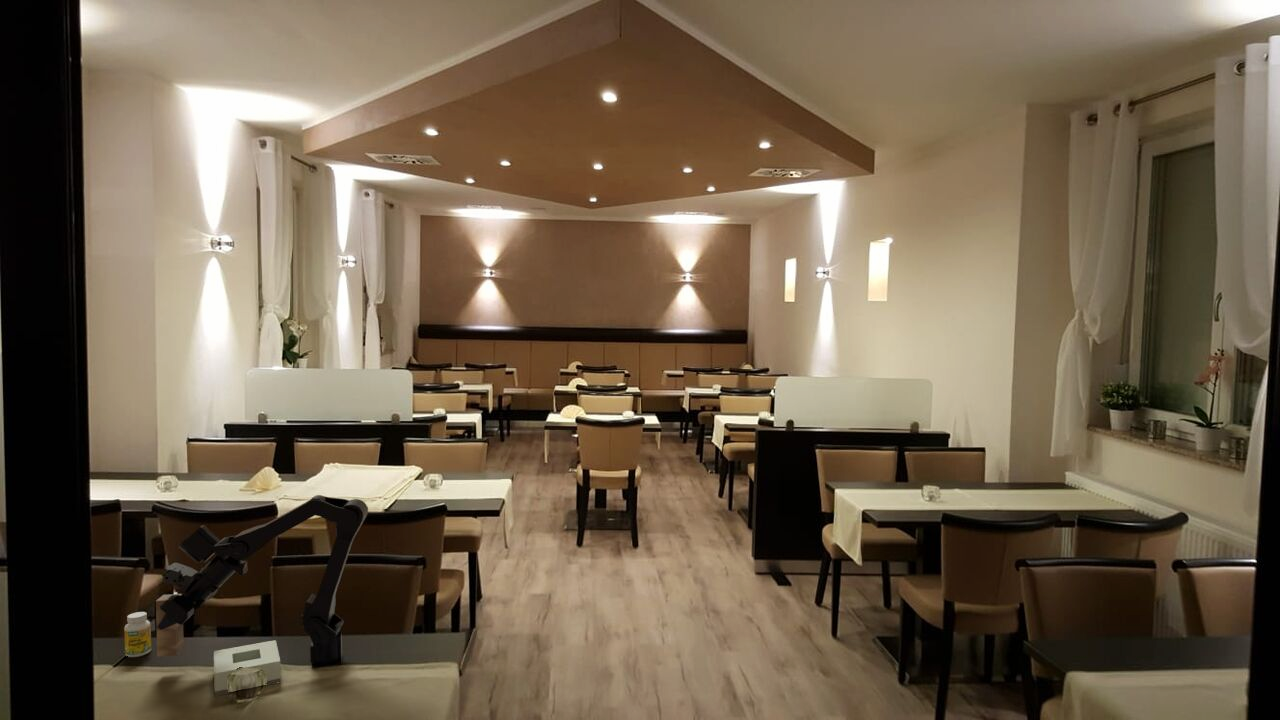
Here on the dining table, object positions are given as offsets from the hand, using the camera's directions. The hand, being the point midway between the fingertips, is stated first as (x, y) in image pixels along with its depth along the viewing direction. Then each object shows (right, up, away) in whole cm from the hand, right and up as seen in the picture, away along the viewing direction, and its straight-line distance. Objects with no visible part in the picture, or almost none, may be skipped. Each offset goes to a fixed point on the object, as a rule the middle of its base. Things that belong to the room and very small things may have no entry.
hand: (163, 624), depth 177 cm
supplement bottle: (-13, -11, +11) cm, 20 cm away
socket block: (+20, -11, -2) cm, 23 cm away
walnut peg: (+1, -7, +1) cm, 7 cm away
